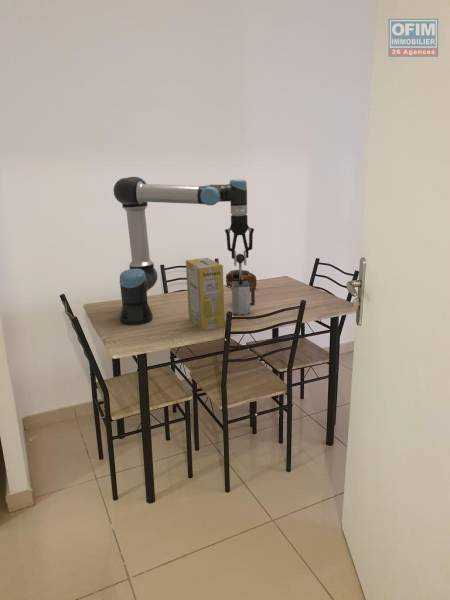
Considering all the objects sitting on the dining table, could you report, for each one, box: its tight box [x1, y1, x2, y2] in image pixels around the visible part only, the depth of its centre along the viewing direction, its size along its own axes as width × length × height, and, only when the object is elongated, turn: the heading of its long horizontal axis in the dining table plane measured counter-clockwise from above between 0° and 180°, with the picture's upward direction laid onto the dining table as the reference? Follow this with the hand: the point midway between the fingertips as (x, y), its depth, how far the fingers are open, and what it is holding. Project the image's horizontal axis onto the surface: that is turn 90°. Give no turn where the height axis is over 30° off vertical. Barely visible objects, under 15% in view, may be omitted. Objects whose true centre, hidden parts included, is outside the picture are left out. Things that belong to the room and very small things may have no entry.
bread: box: [225, 269, 257, 292], centre depth 267 cm, size 19×11×10 cm, turn 27°
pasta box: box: [185, 257, 226, 332], centre depth 209 cm, size 18×10×28 cm, turn 23°
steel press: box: [231, 280, 256, 317], centre depth 223 cm, size 11×8×15 cm
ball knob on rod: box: [236, 253, 244, 284], centre depth 218 cm, size 4×4×15 cm
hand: (240, 265), depth 218 cm, fingers closed on ball knob on rod, 4 cm apart
